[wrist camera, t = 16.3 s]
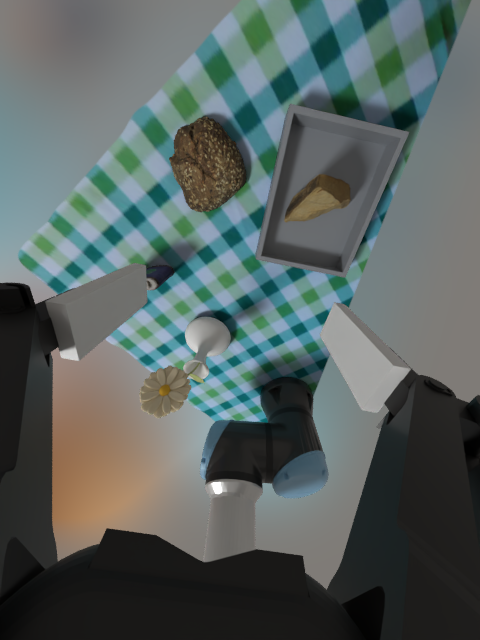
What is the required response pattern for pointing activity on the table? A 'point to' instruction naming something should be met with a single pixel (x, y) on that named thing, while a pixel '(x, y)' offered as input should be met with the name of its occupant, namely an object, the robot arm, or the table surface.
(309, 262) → the bin
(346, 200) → the rock
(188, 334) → the flower in vase
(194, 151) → the bread roll
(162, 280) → the flask
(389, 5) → the table surface
